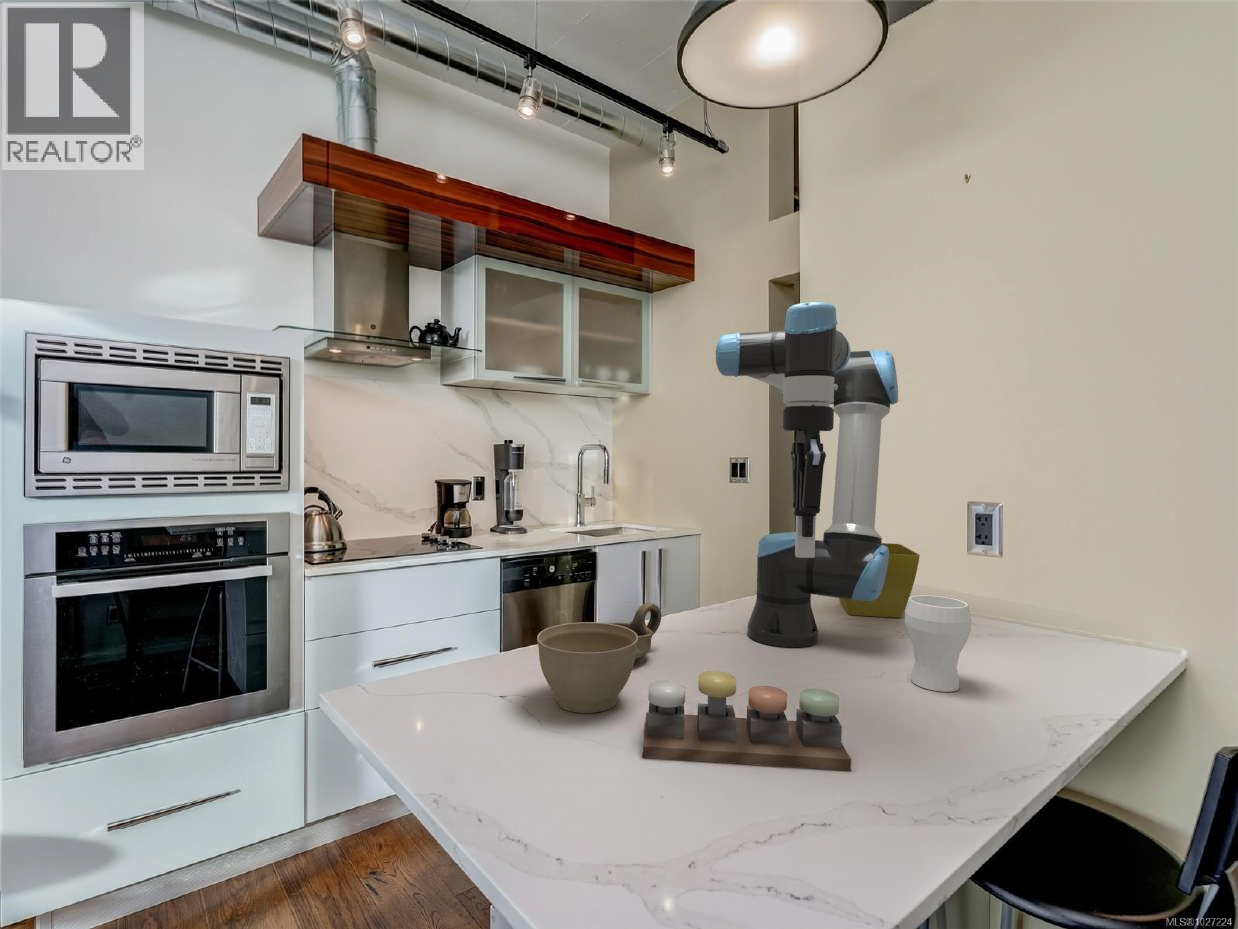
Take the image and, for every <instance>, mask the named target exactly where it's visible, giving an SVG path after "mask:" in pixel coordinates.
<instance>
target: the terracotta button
mask: <svg viewBox="0 0 1238 929" xmlns="http://www.w3.org/2000/svg"><path fill="white" fill-rule="evenodd" d="M748 706H750V707H751V708H752V709H754V710H757V717H758V718H763V719H777V715H778V713H781V712H784V713H785V711H787V709H788V693H787V692H786V691H785V690H783V689H781V688H779V687H775V686H771V685H756V686H752V687H751V688H749V689H748Z"/></svg>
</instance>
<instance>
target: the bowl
mask: <svg viewBox="0 0 1238 929" xmlns="http://www.w3.org/2000/svg"><path fill="white" fill-rule="evenodd" d="M648 613H650V616H649V620H648V622H647V624H646V616H647V614H648ZM661 622H662V610H661V609H660V607H659V606H658V605H656V604H655V603H652V602H646V603H643V604H641V605H640V606H639V607H638V608H637V610H636V611H635V614H634V617H633V619H632V621H631V622H607V623H608V624H614V625H619V626H623V627H626V628H628V629H630V630H632V631H634V632H635V633H636V634H637V636H638V643H637V646H636V655H635V660H637V659H639V658H642V657H644V656H645V655H647V654H648V653H649V652H650V649H651V646H652V638H653V637H654V635H655V633H656V632H657V631H658V629H659V627H660V626H661Z"/></svg>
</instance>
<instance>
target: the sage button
mask: <svg viewBox="0 0 1238 929" xmlns="http://www.w3.org/2000/svg"><path fill="white" fill-rule="evenodd" d="M798 702H799V705H798V706H799V709H802V710H803V711H805V712H807V713H808V719H809V721H816V722H830V716H833V715H835V716H836V715H838V714H839V712H840V710H839V709H840V697H839V695H838V694H836V693H835V692H832V691H829V690H826V689H823V688H816V687H815V688H813V687H812V688H803V689H802V690H800V691H799V701H798Z"/></svg>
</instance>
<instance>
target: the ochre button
mask: <svg viewBox="0 0 1238 929" xmlns="http://www.w3.org/2000/svg"><path fill="white" fill-rule="evenodd" d="M698 692H700V693H701V694H703V695H704V696H707V704H708V706H707V712H708V715H711V716H726V705H727V698H729V697H732V696H735V695H736V693H737V677H736V676H735V675H734V674H732V673H730V672H725V671H720V670H710V671H703V672H701V673H699V675H698Z"/></svg>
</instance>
